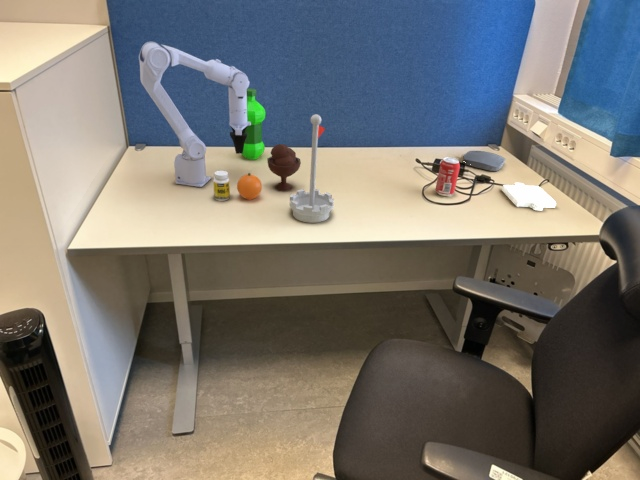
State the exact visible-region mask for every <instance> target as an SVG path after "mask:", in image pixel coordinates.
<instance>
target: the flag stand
mask: <svg viewBox="0 0 640 480" xmlns="http://www.w3.org/2000/svg"><path fill="white" fill-rule="evenodd" d="M310 123H311V124H312V137H311V156H310V157H311V158H310V175H309V176H310V177H309V191H306V190H305V189H304V188H302V189H298V190H296V192H295V193H291V194H290V195H289V207H290V208H291V210H292V216H293V217H294V219H296V220H298V221H300V222H302V223H310V224H315V223H322V222H325V221H327V220H328V219H329V217H330V212H331V211H333V209H334V203H335V198H333V195H332V194H331V193H329V192H328V191H326V192H324V193H321V190H320V189H318V188H316V177H317V176H316V175H317V162H318V161H317V159H318V145H319V144H318V142H319V140H318V139H319V138H320V137H321V136H322V134H323V133H324V131H325V130H326V128H325V127H324V126H321V124H322V117H321V116H320V114H316V113H315V114H312V115H311V117H310Z"/></svg>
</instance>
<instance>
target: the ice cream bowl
mask: <svg viewBox="0 0 640 480" xmlns="http://www.w3.org/2000/svg"><path fill="white" fill-rule="evenodd" d="M270 155H271V156H269V157H267V166H268V168H269V170H270V172H272V174H274V175H276V176H278V177H280V182H278V183H276V184H275V189H276V190H278V191H280V192H281V191H282V192H286V191H290V190H292V185H291V184H290V183H288V182H287V178H288V177H291V176H292V175H294V174H296V173H297V172H298V171H299V169H300V167H301V163H302V162H301V158H299V157H297V154H296V152H295V150H293V149H292V148H290V147H289V146H287V145H286V144H281V143H279V144H275V145H274V146H273V147H272V148H271V150H270Z"/></svg>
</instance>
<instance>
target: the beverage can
mask: <svg viewBox="0 0 640 480" xmlns="http://www.w3.org/2000/svg"><path fill="white" fill-rule="evenodd" d="M460 169H461V164H460V160H459V159H457V158H455V157H448V156H447V157H444V158H443V159H442V161H441V162H440V164H439V168H438V174H437V179H436V185H435V192H436V193H437V194H438V195H439V196H442V197H451V196H452V195H453V194H455V191H456V186H457V181H458V179H459V173H460Z"/></svg>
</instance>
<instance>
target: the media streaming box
mask: <svg viewBox="0 0 640 480" xmlns="http://www.w3.org/2000/svg"><path fill="white" fill-rule="evenodd" d="M462 157H463V158H462V161H461V162H462V163H463V161H465V162H466V163H465V162H464V163H465V164H464V163H463V164H464V165H465V166H469V167H472V168H477V169H481V170H485V171H490V172H498V171H500V170H501V169H502V168H503V166H504V165H505V162H506V158H505V157H503V156H502V155H499V154H498V153H497V154H496V153H494V152H491V151H486V150H469V151H467V152H466V153H465V154H464V155H463V156H462ZM470 164H471V165H470Z"/></svg>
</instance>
